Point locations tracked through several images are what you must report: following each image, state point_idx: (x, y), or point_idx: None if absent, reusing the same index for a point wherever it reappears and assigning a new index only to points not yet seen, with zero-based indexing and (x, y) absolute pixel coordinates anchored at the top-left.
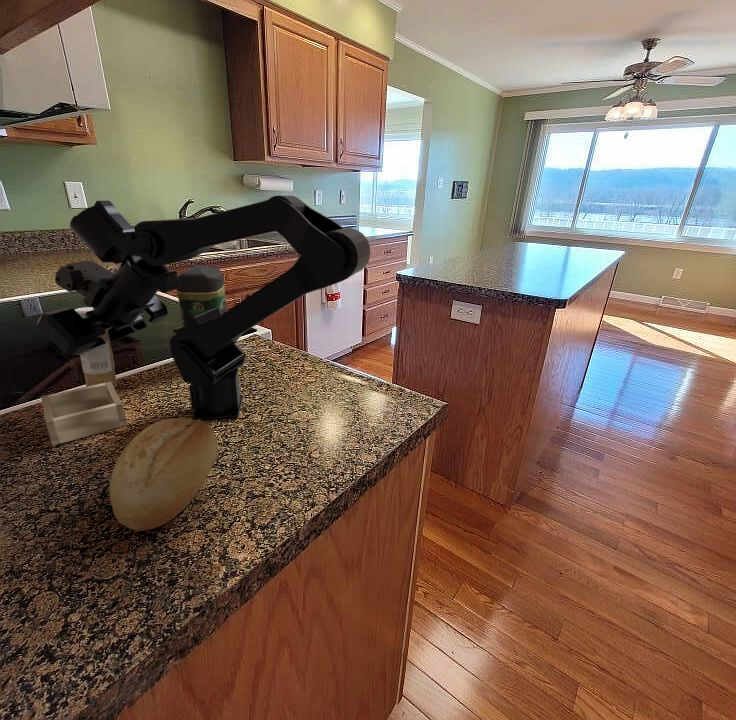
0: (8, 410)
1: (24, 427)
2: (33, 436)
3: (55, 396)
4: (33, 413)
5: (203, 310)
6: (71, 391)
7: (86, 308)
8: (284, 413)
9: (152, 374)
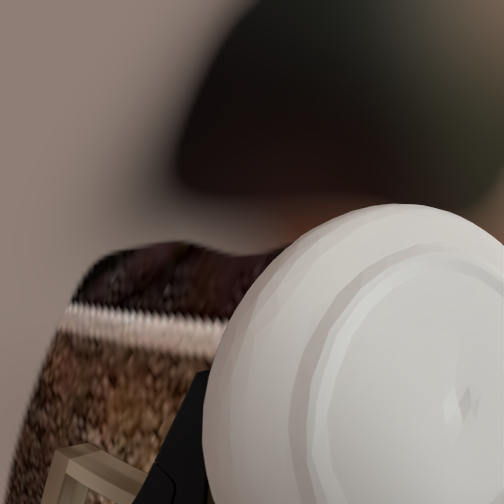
0: (64, 318)
1: (46, 435)
2: None
3: (81, 481)
4: (82, 388)
5: None
6: (121, 500)
7: (460, 299)
8: None
9: None
